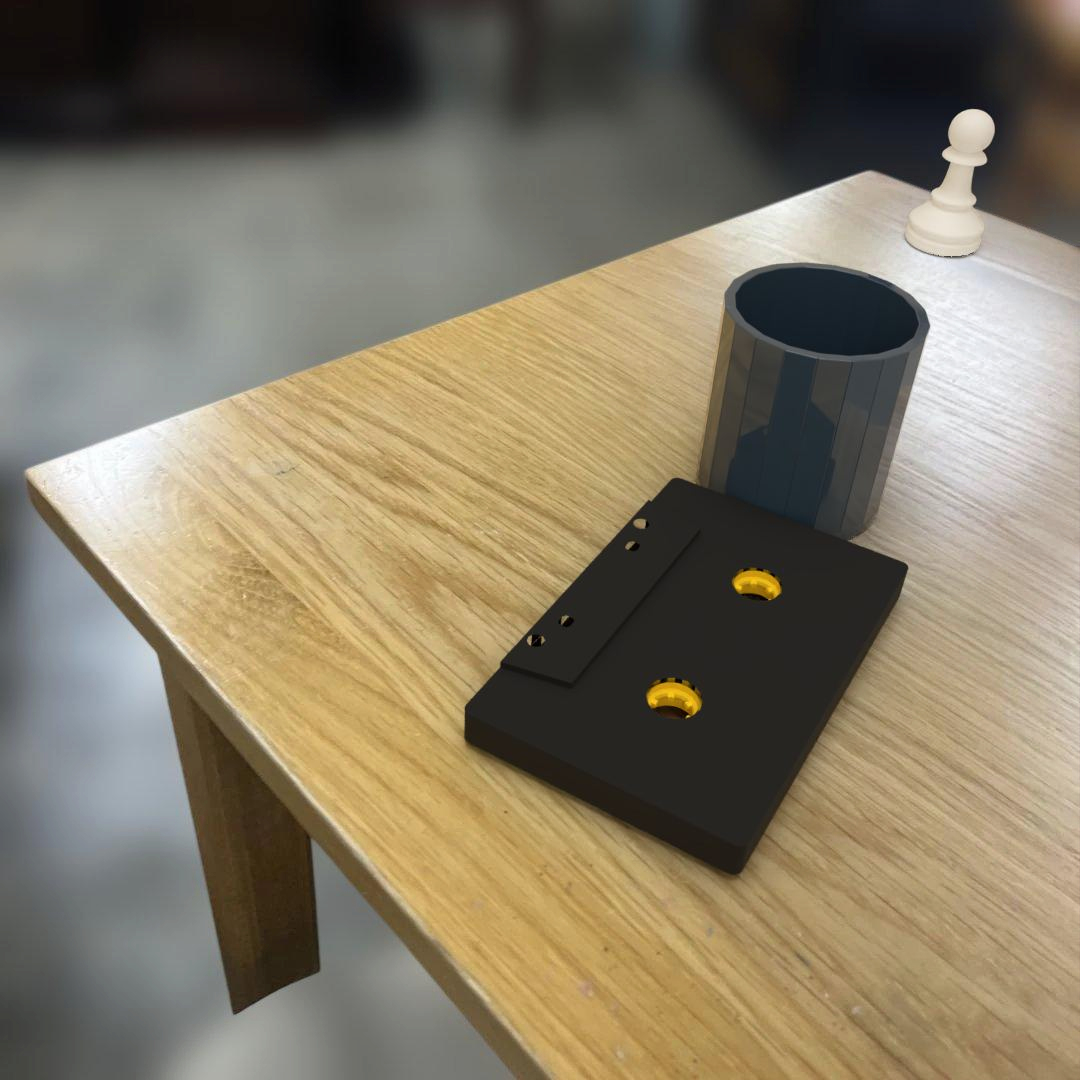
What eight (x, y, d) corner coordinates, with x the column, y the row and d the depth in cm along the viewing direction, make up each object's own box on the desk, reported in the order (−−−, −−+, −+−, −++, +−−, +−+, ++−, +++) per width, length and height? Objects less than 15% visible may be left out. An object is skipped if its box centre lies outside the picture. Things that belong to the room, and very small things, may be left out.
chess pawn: (894, 245, 83) (927, 113, 77) (916, 219, 86) (949, 91, 81) (968, 265, 81) (1007, 131, 76) (987, 238, 85) (1025, 108, 79)
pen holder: (761, 417, 66) (794, 244, 59) (912, 489, 61) (965, 310, 55) (659, 488, 60) (684, 306, 54) (817, 572, 56) (864, 384, 49)
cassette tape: (669, 507, 59) (675, 470, 58) (900, 596, 55) (912, 559, 53) (460, 743, 47) (460, 704, 45) (736, 883, 42) (745, 844, 41)
